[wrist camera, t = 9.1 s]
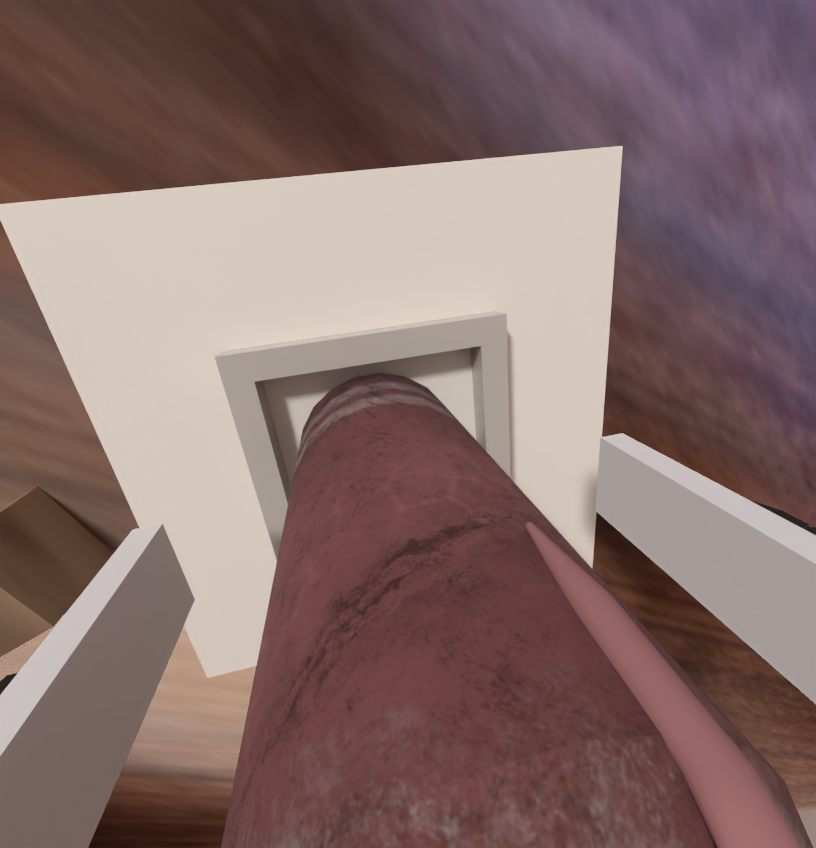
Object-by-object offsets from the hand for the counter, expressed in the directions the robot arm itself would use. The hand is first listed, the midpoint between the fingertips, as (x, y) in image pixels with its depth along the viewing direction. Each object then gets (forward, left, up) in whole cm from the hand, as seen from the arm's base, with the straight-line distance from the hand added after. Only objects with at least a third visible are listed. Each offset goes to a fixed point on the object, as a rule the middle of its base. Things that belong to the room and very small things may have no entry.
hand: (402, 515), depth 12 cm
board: (0, 0, -6) cm, 6 cm away
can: (0, +1, -5) cm, 5 cm away
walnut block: (-15, -2, -6) cm, 16 cm away
